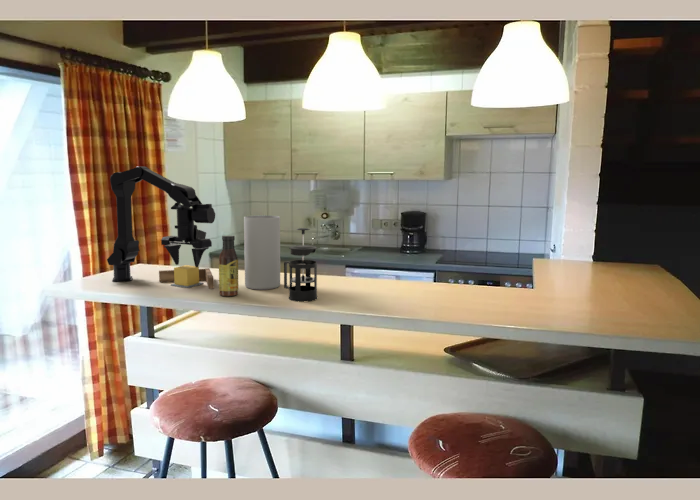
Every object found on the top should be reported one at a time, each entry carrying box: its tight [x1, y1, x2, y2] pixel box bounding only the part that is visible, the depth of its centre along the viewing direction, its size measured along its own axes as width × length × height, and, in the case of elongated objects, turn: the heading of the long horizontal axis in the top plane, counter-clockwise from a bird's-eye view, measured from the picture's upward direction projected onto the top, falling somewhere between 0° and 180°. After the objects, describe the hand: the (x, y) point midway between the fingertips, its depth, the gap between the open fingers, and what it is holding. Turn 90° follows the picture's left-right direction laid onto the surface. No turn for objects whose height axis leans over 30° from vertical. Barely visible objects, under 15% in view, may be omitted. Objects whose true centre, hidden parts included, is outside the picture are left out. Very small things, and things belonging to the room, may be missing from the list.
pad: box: [170, 281, 204, 289], centre depth 185 cm, size 8×8×1 cm
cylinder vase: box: [243, 214, 281, 291], centre depth 183 cm, size 12×12×25 cm
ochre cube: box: [173, 264, 200, 286], centre depth 185 cm, size 6×6×6 cm
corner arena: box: [158, 267, 215, 290], centre depth 185 cm, size 18×18×4 cm
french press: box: [283, 227, 318, 303], centre depth 166 cm, size 12×9×23 cm
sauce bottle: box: [218, 234, 239, 297], centre depth 170 cm, size 7×6×20 cm
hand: (187, 265), depth 184 cm, fingers open, 9 cm apart
